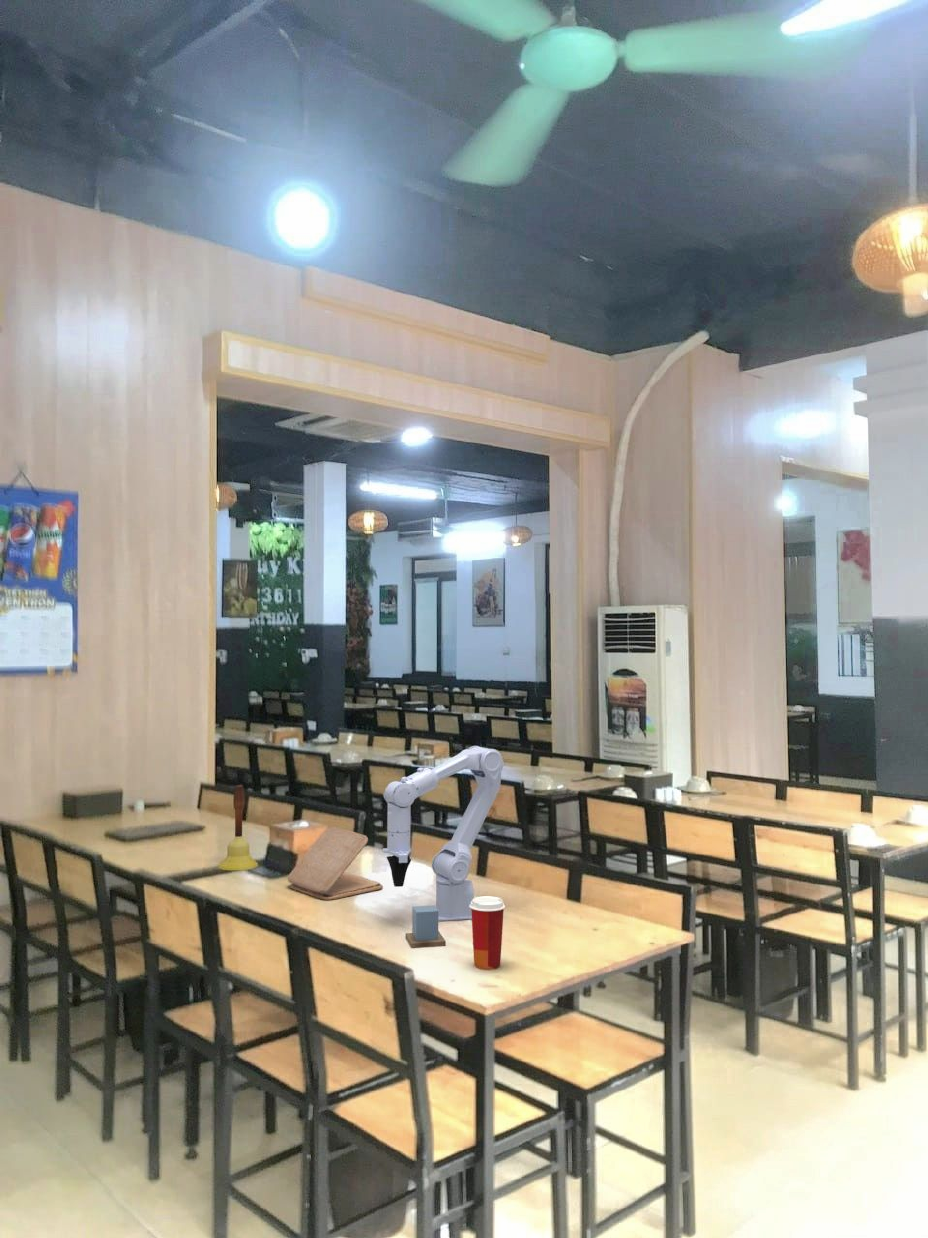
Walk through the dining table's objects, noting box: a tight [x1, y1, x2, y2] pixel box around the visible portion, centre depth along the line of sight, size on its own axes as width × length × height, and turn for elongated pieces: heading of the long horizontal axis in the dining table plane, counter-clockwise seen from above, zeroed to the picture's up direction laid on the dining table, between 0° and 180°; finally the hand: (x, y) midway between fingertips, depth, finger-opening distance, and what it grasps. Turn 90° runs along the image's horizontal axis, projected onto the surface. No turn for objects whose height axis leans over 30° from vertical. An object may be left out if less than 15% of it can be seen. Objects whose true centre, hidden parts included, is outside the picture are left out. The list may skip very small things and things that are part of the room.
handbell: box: [217, 784, 259, 871], centre depth 300 cm, size 12×12×25 cm
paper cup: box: [469, 895, 506, 971], centre depth 208 cm, size 8×8×14 cm
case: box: [287, 826, 384, 901], centre depth 272 cm, size 20×21×16 cm
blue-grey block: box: [411, 904, 439, 941], centre depth 224 cm, size 5×5×7 cm
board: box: [405, 930, 447, 949], centre depth 224 cm, size 8×8×1 cm
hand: (398, 886), depth 238 cm, fingers closed
